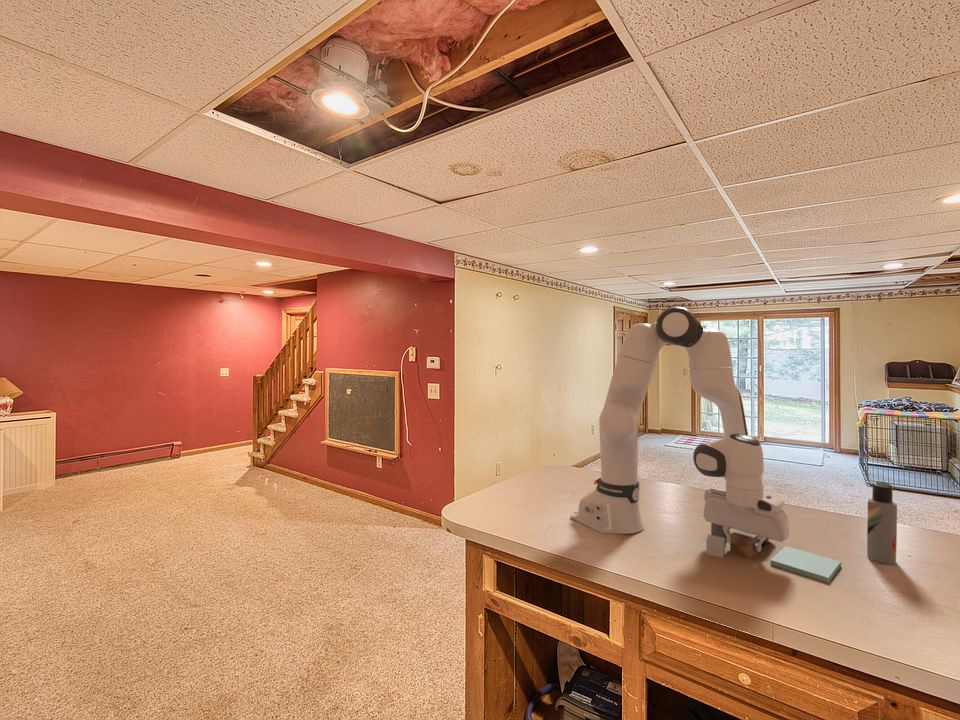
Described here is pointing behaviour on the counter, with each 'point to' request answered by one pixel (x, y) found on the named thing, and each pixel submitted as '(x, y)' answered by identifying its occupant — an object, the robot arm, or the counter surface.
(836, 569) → the teal board
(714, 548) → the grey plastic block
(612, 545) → the counter surface
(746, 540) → the walnut block
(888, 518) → the lotion bottle
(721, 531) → the grey rounded piece
